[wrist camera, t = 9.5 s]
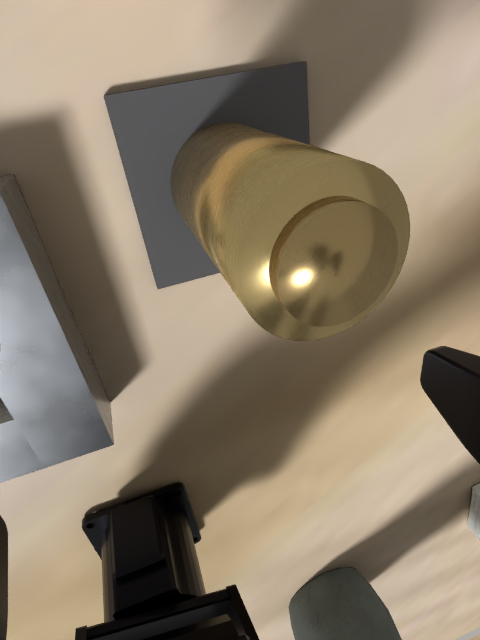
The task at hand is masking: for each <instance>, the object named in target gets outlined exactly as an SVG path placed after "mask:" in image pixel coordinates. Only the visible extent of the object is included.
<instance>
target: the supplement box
mask: <svg viewBox="0 0 480 640" xmlns="http://www.w3.org/2000/svg"><path fill="white" fill-rule="evenodd" d="M467 525H468V527H469V528H470V529H471V530H472V531H473V533H474V534H475V535H476V536H477V537H478V538H479V540H480V483H479V484H477V485H475V486H473V487H472V499H471V506H470V512H469V517H468V521H467Z"/></svg>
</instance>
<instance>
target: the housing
mask: <svg viewBox="0 0 480 640" xmlns="http://www.w3.org/2000/svg"><path fill="white" fill-rule="evenodd" d="M112 445H114V440H113V428H112V416H111V404H110V401H109V399H108V396H107V394H106V392H105V389H104V387H103V385H102V382H101V380H100V378H99V375H98V373H97V371H96V368H95V366H94V363H93V361H92V359H91V356H90V354H89V352H88V349H87V347H86V345H85V342H84V340H83V337H82V335H81V333H80V330H79V328H78V326H77V323H76V321H75V319H74V316H73V314H72V312H71V309H70V307H69V304H68V302H67V300H66V297H65V295H64V293H63V290H62V288H61V286H60V283H59V281H58V279H57V276H56V274H55V271H54V269H53V267H52V264H51V262H50V260H49V257H48V255H47V253H46V250H45V248H44V245H43V243H42V241H41V238H40V236H39V234H38V231H37V229H36V227H35V224H34V222H33V220H32V217H31V215H30V212H29V210H28V208H27V205H26V203H25V201H24V198H23V196H22V194H21V191H20V189H19V187H18V184H17V182H16V179H15V177H14V175H13V174H10V175H5V176H0V483H2V482H5V481H8V480H11V479H14V478H17V477H20V476H23V475H26V474H28V473H31V472H34V471H37V470H40V469H43V468H46V467H49V466H52V465H55V464H58V463H61V462H64V461H67V460H70V459H73V458H76V457H79V456H82V455H85V454H88V453H91V452H94V451H97V450H100V449H103V448H106V447H109V446H112Z"/></svg>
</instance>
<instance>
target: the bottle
mask: <svg viewBox="0 0 480 640" xmlns="http://www.w3.org/2000/svg"><path fill="white" fill-rule="evenodd" d="M289 612H290V620H291V626H292V630H293V634H294V637H295V640H402V639H401V637H400V635H399V632H398V630H397V628H396V626H395V624H394V621H393V619H392V617H391V615H390V613H389V610H388V609H387V608H386V606H385V605H384V603H383V602H382V600H381V599H380V598H379V596H378V595H377V593H376V592H375V590H374V589H373V588H372V586H371V585H370V584H369V583H368V582H367V581H366V580H365V578H364V577H363V576H362V575H361V574H360V573H359V572H358V571H357V570H356V569H353V568H349V567H347V568H338V569H335V570H332V571H329V572H326V573H324V574H322V575H320V576H318V577H316V578H314V579H313V580H311V581H310V582H308V583H307V584H305V585H304V586H303V587H302V588H301V589H300V590H299V591H298V592H297V593H296V594H295V595H294V597H293V598H292V599H291V601H290V605H289Z"/></svg>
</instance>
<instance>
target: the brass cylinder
mask: <svg viewBox="0 0 480 640" xmlns="http://www.w3.org/2000/svg"><path fill="white" fill-rule="evenodd" d="M170 183H171V193H172V198H173V201H174V204H175V206H176V209H177V211H178V212H179V214H180V216H181V217H182V218H183V220H184V221H185V223H186V224H187V226H188V227H189V228H190V230H191V231H192V233H193V234H194V236H195V237H196V238H197V240H198V241H199V243H200V244H201V246H202V247H203V248H204V250H205V251H206V253H207V254H208V256H209V257H210V258H211V260H212V261H213V263H214V264H215V266H216V267H217V268H218V270H219V271H220V273H221V274H222V276H223V277H224V278H225V280H226V281H227V283H228V284H229V286H230V287H231V288H232V290H233V291H234V293H235V294H236V295H237V297H238V298H239V300H240V301H241V303H242V304H243V305H244V307H245V308H246V310H247V311H248V313H249V314H250V315H251V317H252V318H253V319H254V320H255V321H256V322H257V323H258V324H259V325H260V326H261V327H262V328H263V329H265V330H267V331H268V332H270V333H271V334H274V335H276V336H278V337H281V338H285V339H289V340H296V341H311V340H318V339H322V338H326V337H330V336H332V335H335V334H338V333H340V332H342V331H344V330H346V329H348V328H350V327H351V326H353V325H355V324H356V323H358V322H359V321H360V320H362V319H363V318H364V317H366V316H367V315H368V314H369V313H370V312H371V311H372V310H373V309H374V308H375V307H376V306H377V305H378V304H379V303H380V302H381V301H382V300H383V298H384V297H385V296H386V294H387V293H388V292H389V290H390V289H391V287H392V286H393V284H394V282H395V281H396V279H397V277H398V275H399V273H400V271H401V268H402V266H403V263H404V261H405V257H406V254H407V250H408V244H409V238H410V220H409V213H408V208H407V204H406V201H405V199H404V196H403V194H402V192H401V191H400V189H399V187H398V185H397V184H396V183H395V182H394V181H393V179H392V178H391V177H390V176H389V175H387V174H386V173H385V172H384V171H383V170H381V169H379V168H377V167H376V166H374V165H371V164H369V163H366V162H363V161H360V160H357V159H353V158H350V157H347V156H344V155H340V154H337V153H334V152H330V151H327V150H324V149H321V148H317V147H314V146H311V145H308V144H304V143H301V142H298V141H295V140H291V139H288V138H285V137H282V136H278V135H275V134H272V133H269V132H265V131H262V130H259V129H256V128H252V127H249V126H246V125H242V124H239V123H234V122H219V123H214V124H211V125H208V126H206V127H203V128H201V129H200V130H198V131H197V132H195V133H194V134H193V135H192V136H190V137H189V138H188V139H187V140H186V142H185V143H184V144H183V145H182V147H181V148H180V150H179V152H178V154H177V155H176V158H175V160H174V163H173V167H172V171H171V179H170Z"/></svg>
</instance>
